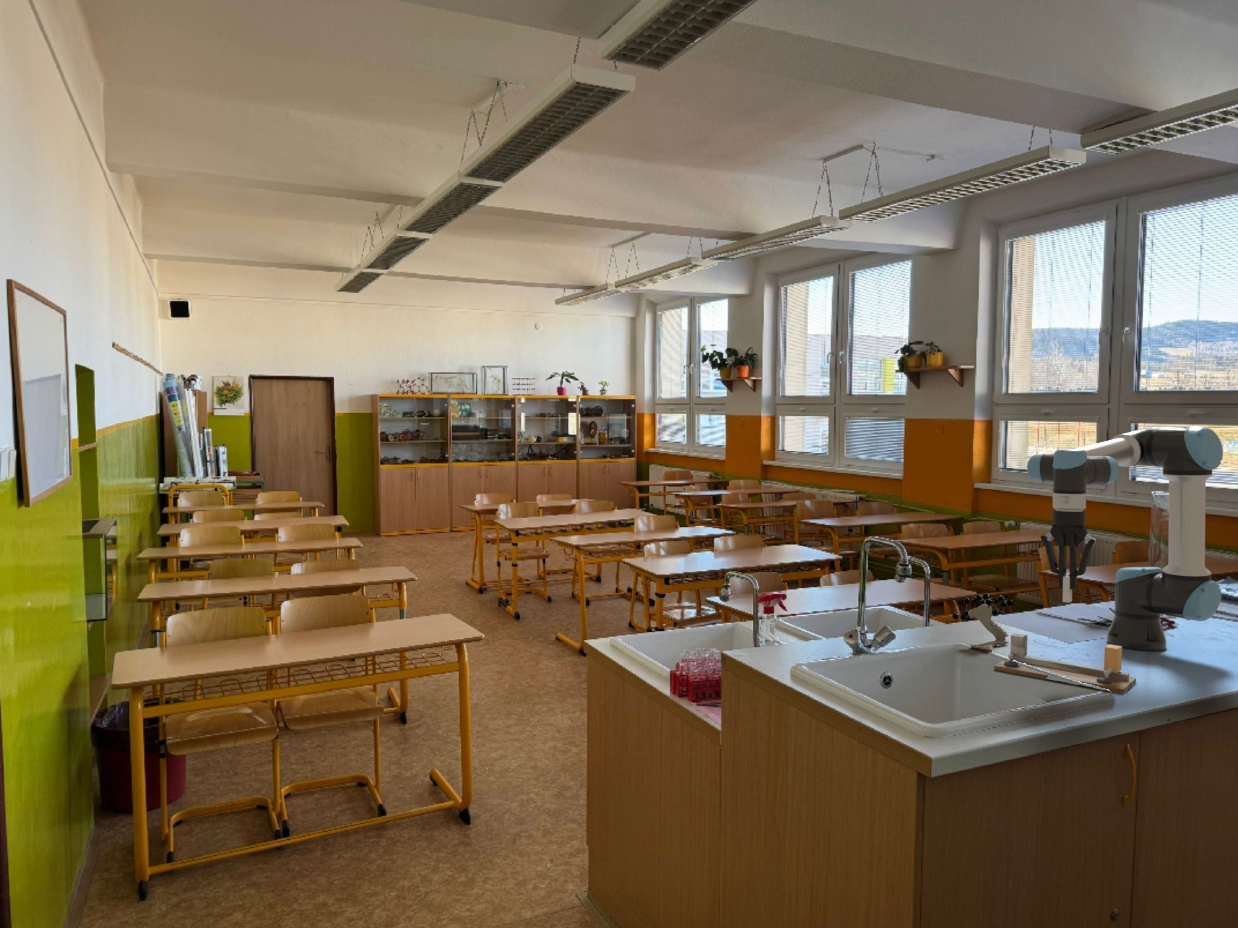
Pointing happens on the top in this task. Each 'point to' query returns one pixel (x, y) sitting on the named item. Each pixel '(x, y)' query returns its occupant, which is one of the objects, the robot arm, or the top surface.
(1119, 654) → the block
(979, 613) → the jawbone
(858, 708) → the top surface
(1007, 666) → the gauge board
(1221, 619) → the top surface
